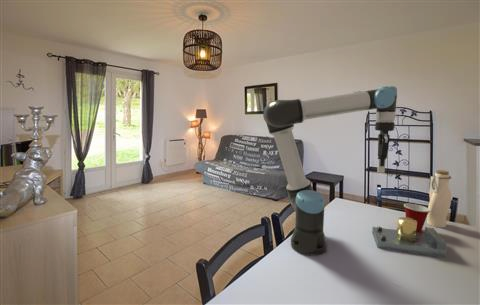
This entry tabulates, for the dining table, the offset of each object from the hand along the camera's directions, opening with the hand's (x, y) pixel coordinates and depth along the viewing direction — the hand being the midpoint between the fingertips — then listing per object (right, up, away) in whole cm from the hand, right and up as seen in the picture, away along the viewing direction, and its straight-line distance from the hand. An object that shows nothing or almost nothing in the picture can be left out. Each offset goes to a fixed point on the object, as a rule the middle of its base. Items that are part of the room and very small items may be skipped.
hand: (380, 172), depth 118 cm
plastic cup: (+20, -29, +6) cm, 36 cm away
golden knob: (+7, -30, -7) cm, 32 cm away
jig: (+7, -31, -7) cm, 32 cm away
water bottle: (+35, -28, +12) cm, 46 cm away
